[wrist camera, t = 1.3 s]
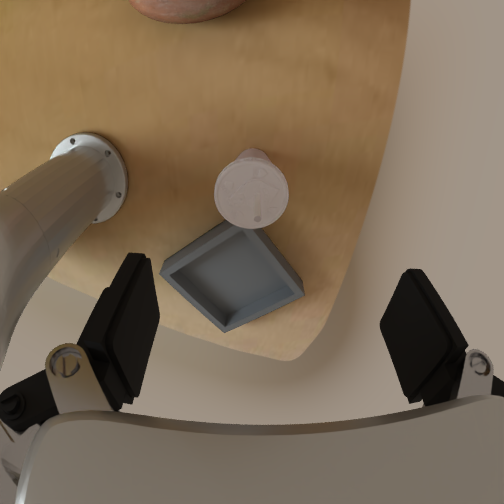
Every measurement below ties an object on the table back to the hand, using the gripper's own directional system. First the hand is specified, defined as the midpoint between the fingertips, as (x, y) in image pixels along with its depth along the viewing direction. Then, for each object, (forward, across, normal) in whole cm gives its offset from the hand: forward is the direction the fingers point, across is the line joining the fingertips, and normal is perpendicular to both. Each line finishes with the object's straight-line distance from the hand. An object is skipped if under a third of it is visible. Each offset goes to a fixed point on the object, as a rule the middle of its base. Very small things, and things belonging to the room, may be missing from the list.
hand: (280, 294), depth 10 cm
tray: (+25, +2, +18) cm, 31 cm away
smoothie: (+25, +1, +3) cm, 25 cm away
